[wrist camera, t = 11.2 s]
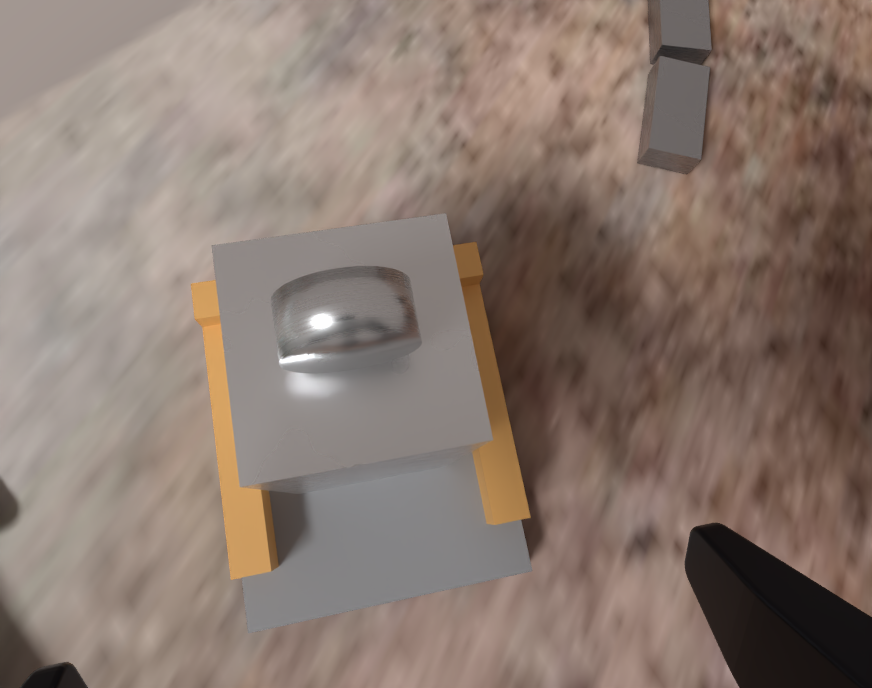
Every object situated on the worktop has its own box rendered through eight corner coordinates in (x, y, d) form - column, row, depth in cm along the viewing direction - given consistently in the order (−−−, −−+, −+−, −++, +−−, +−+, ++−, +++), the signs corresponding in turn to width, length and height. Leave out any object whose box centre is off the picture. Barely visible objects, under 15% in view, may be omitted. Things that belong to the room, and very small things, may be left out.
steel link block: (445, 466, 22) (521, 424, 10) (299, 494, 21) (203, 483, 10) (419, 329, 23) (461, 148, 11) (280, 351, 22) (172, 185, 11)
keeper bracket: (524, 567, 22) (562, 584, 18) (255, 626, 21) (220, 660, 17) (462, 278, 25) (481, 226, 20) (218, 315, 24) (179, 270, 19)
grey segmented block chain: (690, 175, 27) (704, 160, 26) (623, 160, 27) (634, 144, 26) (717, -97, 31) (730, -120, 30) (659, -111, 31) (670, -135, 30)
